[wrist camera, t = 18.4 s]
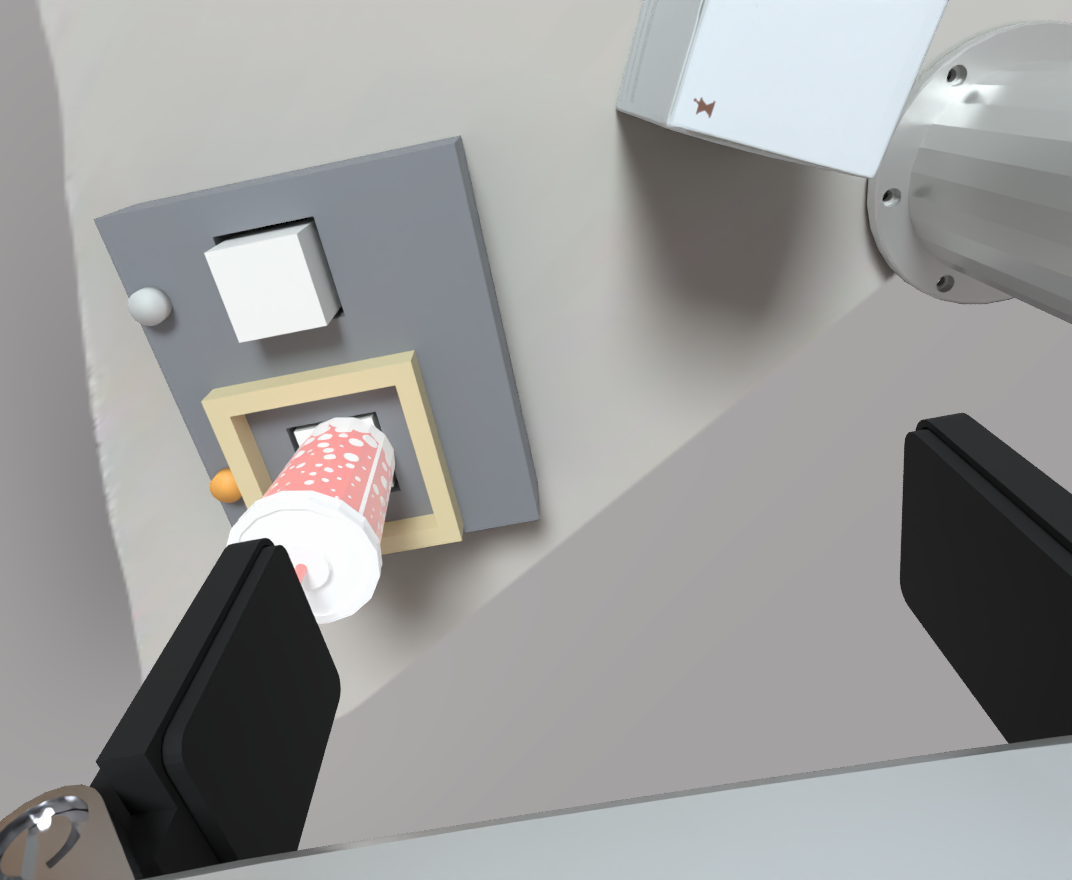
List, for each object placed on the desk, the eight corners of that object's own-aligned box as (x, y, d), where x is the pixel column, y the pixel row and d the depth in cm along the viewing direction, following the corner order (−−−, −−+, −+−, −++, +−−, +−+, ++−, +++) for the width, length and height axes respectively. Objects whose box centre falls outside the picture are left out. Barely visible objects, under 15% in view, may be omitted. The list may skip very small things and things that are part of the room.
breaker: (319, 216, 34) (296, 233, 31) (345, 300, 36) (327, 325, 32) (236, 233, 34) (203, 252, 31) (266, 315, 36) (239, 342, 33)
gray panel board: (460, 135, 35) (451, 146, 30) (537, 482, 43) (540, 535, 38) (135, 204, 36) (75, 225, 31) (272, 529, 44) (242, 587, 39)
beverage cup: (262, 443, 37) (131, 637, 25) (357, 379, 36) (267, 551, 23) (342, 528, 40) (259, 743, 27) (434, 471, 38) (391, 672, 26)
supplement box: (759, 152, 35) (873, 190, 24) (610, 109, 34) (657, 130, 23) (824, -25, 32) (990, -75, 21) (662, -77, 31) (745, -159, 20)
